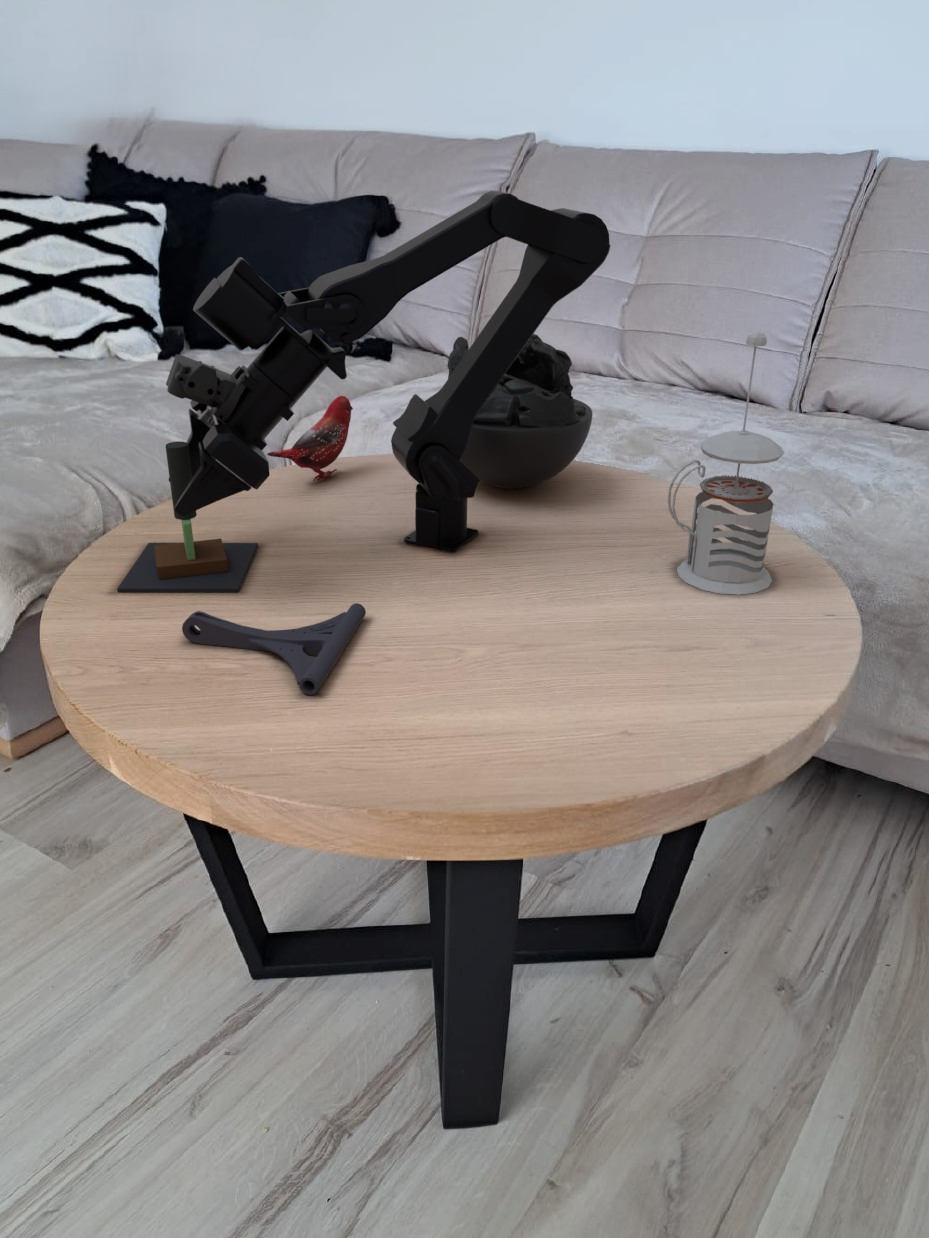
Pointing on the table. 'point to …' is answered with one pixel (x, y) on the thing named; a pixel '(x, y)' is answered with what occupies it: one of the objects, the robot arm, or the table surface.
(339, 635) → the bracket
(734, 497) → the french press
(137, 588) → the mat
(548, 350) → the bowl of black rocks
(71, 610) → the table surface
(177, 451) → the rubber stamp
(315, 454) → the decorative bird figurine
